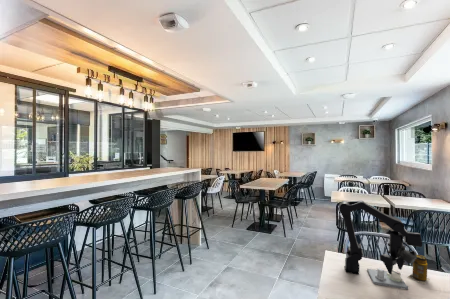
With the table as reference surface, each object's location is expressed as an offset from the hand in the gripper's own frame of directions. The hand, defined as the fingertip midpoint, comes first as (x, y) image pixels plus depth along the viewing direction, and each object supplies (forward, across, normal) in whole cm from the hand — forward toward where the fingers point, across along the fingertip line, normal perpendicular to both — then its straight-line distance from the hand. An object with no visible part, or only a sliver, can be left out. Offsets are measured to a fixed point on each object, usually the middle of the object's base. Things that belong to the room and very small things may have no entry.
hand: (395, 271), depth 124 cm
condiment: (+5, +13, -5) cm, 15 cm away
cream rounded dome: (+3, 0, 0) cm, 3 cm away
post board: (+5, -3, +3) cm, 6 cm away
